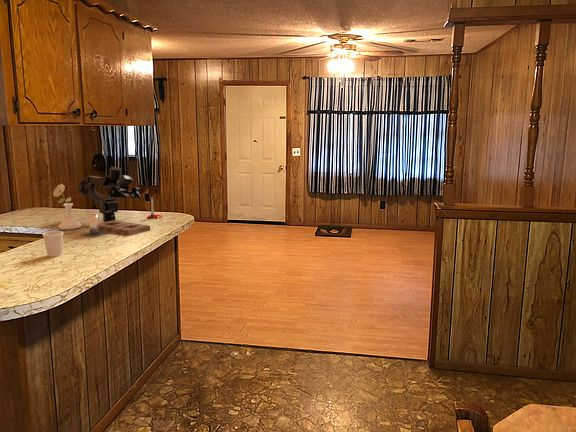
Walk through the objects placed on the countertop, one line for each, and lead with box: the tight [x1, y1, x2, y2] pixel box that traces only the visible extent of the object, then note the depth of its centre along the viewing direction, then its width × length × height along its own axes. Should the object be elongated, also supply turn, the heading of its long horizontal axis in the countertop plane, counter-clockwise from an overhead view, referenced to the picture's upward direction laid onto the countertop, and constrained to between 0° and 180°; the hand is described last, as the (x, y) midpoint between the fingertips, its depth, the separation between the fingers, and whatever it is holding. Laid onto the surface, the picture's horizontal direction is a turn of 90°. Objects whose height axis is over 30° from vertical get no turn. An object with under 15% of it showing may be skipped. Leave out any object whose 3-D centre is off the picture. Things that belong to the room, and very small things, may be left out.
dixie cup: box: [41, 230, 64, 258], centre depth 211 cm, size 8×8×10 cm
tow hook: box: [146, 197, 163, 219], centre depth 294 cm, size 8×13×9 cm
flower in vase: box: [52, 183, 82, 231], centre depth 259 cm, size 13×11×25 cm
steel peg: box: [87, 213, 101, 235], centre depth 248 cm, size 5×5×10 cm
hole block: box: [99, 219, 151, 237], centre depth 259 cm, size 28×14×3 cm, turn 61°
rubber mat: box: [79, 231, 111, 239], centre depth 249 cm, size 11×11×1 cm
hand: (133, 197), depth 258 cm, fingers open, 9 cm apart
